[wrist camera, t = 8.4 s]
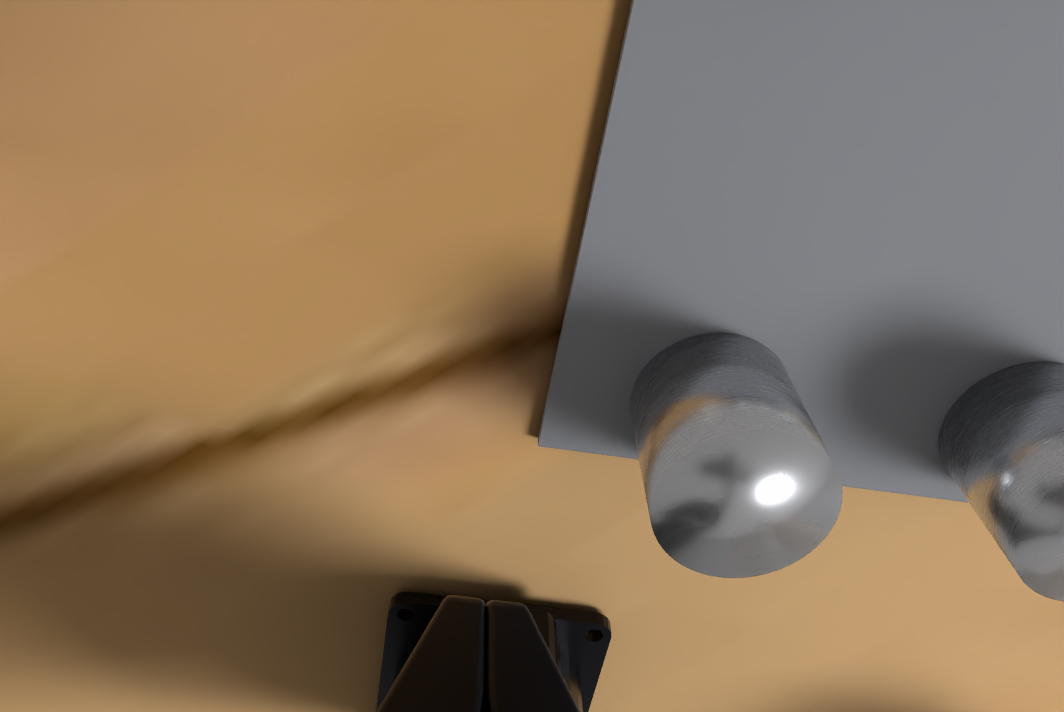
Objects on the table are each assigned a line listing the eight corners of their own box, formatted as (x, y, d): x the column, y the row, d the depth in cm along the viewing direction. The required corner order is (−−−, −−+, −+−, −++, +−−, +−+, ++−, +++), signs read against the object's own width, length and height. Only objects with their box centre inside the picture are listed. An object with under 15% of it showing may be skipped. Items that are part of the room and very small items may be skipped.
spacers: (1046, 512, 24) (1135, 626, 20) (557, 448, 22) (564, 558, 19) (1515, -264, 15) (1810, -294, 12) (760, -441, 14) (842, -536, 10)
